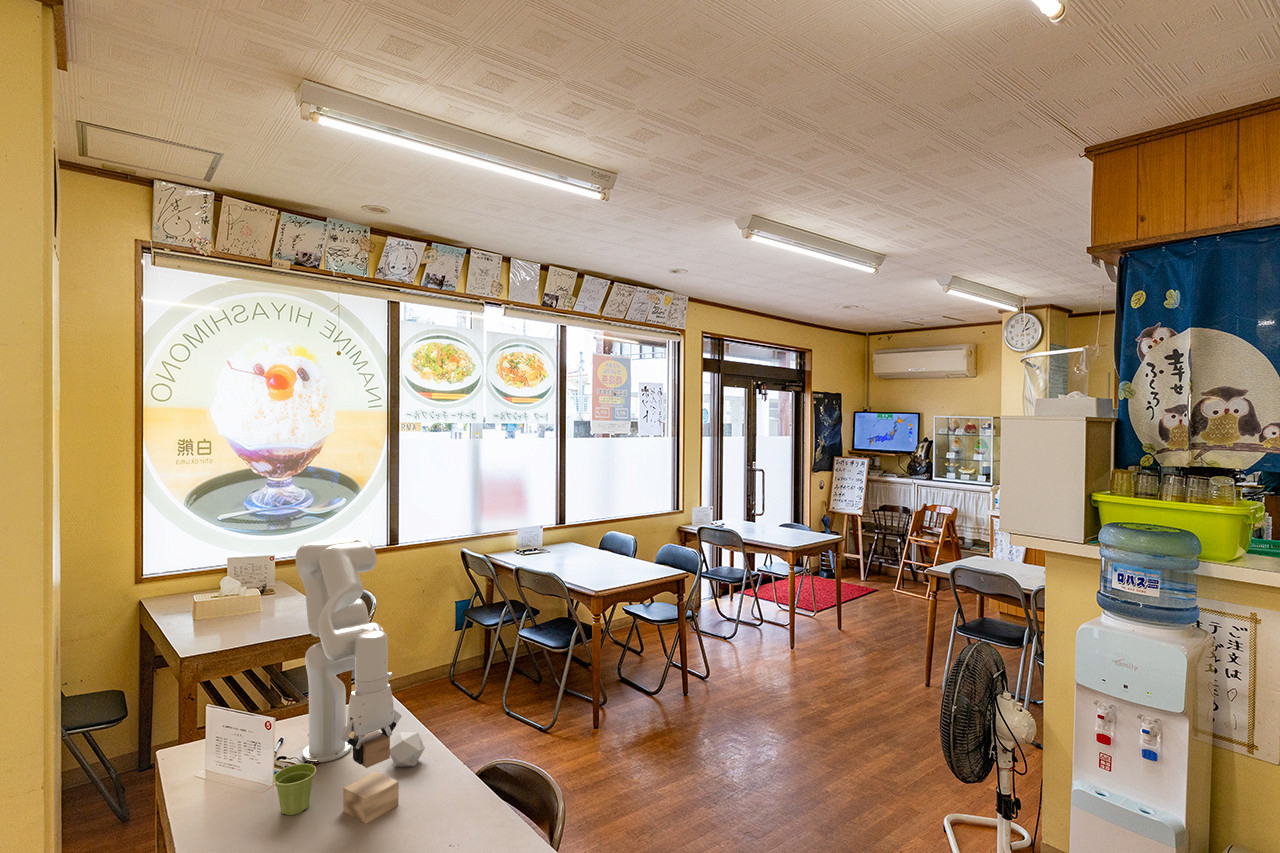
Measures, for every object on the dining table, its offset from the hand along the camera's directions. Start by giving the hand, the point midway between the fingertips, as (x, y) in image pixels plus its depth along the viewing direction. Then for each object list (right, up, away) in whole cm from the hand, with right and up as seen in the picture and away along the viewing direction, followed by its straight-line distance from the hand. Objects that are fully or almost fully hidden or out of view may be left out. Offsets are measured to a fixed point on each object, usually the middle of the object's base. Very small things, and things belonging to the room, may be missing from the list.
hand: (371, 756), depth 161 cm
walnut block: (0, -1, 0) cm, 1 cm away
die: (+1, -13, +21) cm, 25 cm away
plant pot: (-19, -13, 0) cm, 23 cm away
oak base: (0, -13, 0) cm, 13 cm away
